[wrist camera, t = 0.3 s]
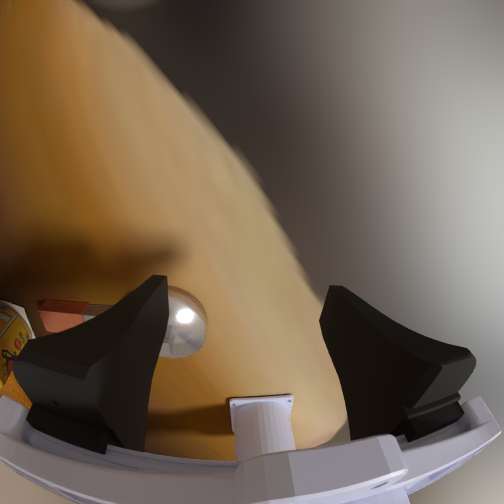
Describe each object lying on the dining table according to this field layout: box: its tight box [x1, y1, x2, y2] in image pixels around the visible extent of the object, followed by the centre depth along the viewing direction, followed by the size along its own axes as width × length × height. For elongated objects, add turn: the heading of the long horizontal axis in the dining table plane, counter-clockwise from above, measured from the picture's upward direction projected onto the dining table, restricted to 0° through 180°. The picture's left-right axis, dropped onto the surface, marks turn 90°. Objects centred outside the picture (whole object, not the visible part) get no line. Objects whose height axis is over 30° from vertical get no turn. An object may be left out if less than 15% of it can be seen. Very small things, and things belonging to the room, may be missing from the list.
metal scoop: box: [38, 286, 207, 358], centre depth 22 cm, size 18×7×4 cm, turn 89°
